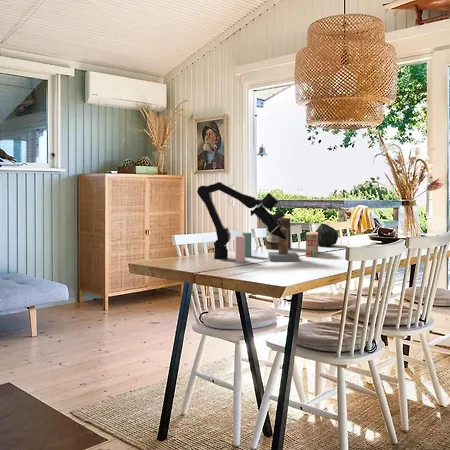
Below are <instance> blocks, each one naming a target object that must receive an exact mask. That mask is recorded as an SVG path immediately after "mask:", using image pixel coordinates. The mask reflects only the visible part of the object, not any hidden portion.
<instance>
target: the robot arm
mask: <svg viewBox="0 0 450 450" xmlns="http://www.w3.org/2000/svg"><path fill="white" fill-rule="evenodd" d="M218 191H220V192H222V193H224V194H226V195H228V196H230V197H232V198H233V199H235V200H237V201H239V202H240V203H241V204H242V205H244V206H245V207H246V208H248V209H251V210H250V216H251V217H253V216H254V215H255V216H256V217H257V218H258V219H259V220H260V222H261V223H263V224H264V226H265V227H266V226H267V228H268V231H269V233H271V232H272V231H273V232H272V233H271V234H273V235H276V236H278V237H280V238H283V239H286V237H285V235H284V234H283V232H282V231H281V229H282V223H281V221H280V220H277V219H279V218H281V217H283V218H285V217H286V214H285V212H284V210H283V209H282V210H280V209H279V210H278V209H277V211H276V212H277V213H276V212H275V213H276V214H275V213H274V214H272V213H270V211H268V210H273V208H274V207H276V205H278V203H279V200H278V199H277V198H276V197H275V196H273V195H272V193H270V192H268V193H267V194H266V196H264V198H263V199H257V198H256V197H255V196H252V195H248V194H244V193H241V192H239V191H237V190H235V189H234V188H232V187H229V185H226V184H225V183H223V182H222V181H220V182H219V181H217V182H215V183H213V184H209V185H200V186H199V187H198V188H197V191H196V193H197V195H198V196H199V198H200V200H202V202H203V203H204V204H205V207H206V209H207V211H208V214H209V216H210V218H211V221H212V222H213V226H214V228H215V233H216V237H217V239H216V241H214V242H213V246H214V251H213V252H214V254H213V255H214V257H213V259H214V260H215V259H216V260H217V259H218V260H219V259H221V260H224V259H225V260H227V258H228V253H229V252H228V251H229V250H228V248H227V244H228V243H229V242H230V241H231V235H232V233H230V230H229V227H225V225H224V223H223V222H222V220H221V217H220V215H219V213H218V210H217V209H216V206H215V204H214V202H213V197H212V195H213V194H212V193H214V192H215V193H216V192H218ZM258 206H259V207H258ZM252 209H253V210H252ZM280 223H281V224H280ZM279 224H280V225H279Z"/></svg>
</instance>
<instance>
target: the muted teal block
mask: <svg viewBox="0 0 450 450" xmlns="http://www.w3.org/2000/svg"><path fill="white" fill-rule="evenodd" d="M242 236H245V258H251V257H252V232H242Z"/></svg>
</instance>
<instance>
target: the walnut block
mask: <svg viewBox="0 0 450 450" xmlns="http://www.w3.org/2000/svg"><path fill="white" fill-rule="evenodd" d="M281 231H282V232H283V234H284V235H285V237H286V239H283V238H280V237H279V250H278V252H279V254H288V252H289V249H288V229H281Z"/></svg>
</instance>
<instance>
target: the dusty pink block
mask: <svg viewBox="0 0 450 450" xmlns="http://www.w3.org/2000/svg"><path fill="white" fill-rule="evenodd" d="M235 262H236V263H246V257H245V236H243V235H235Z"/></svg>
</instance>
